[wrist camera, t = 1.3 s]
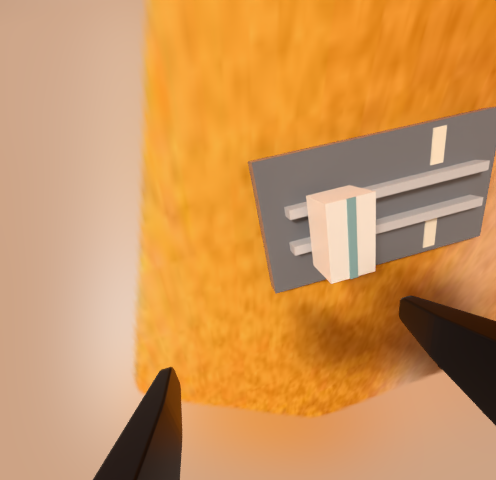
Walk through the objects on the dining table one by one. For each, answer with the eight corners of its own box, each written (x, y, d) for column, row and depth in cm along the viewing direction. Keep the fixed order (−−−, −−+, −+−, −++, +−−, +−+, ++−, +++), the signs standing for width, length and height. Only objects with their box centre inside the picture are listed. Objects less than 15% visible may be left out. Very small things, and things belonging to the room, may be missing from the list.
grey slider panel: (465, 231, 26) (492, 239, 24) (271, 285, 24) (279, 300, 22) (484, 108, 22) (521, 102, 19) (248, 161, 20) (254, 163, 17)
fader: (341, 247, 22) (376, 271, 18) (305, 257, 22) (332, 284, 17) (338, 182, 20) (376, 191, 15) (297, 192, 19) (325, 204, 15)
